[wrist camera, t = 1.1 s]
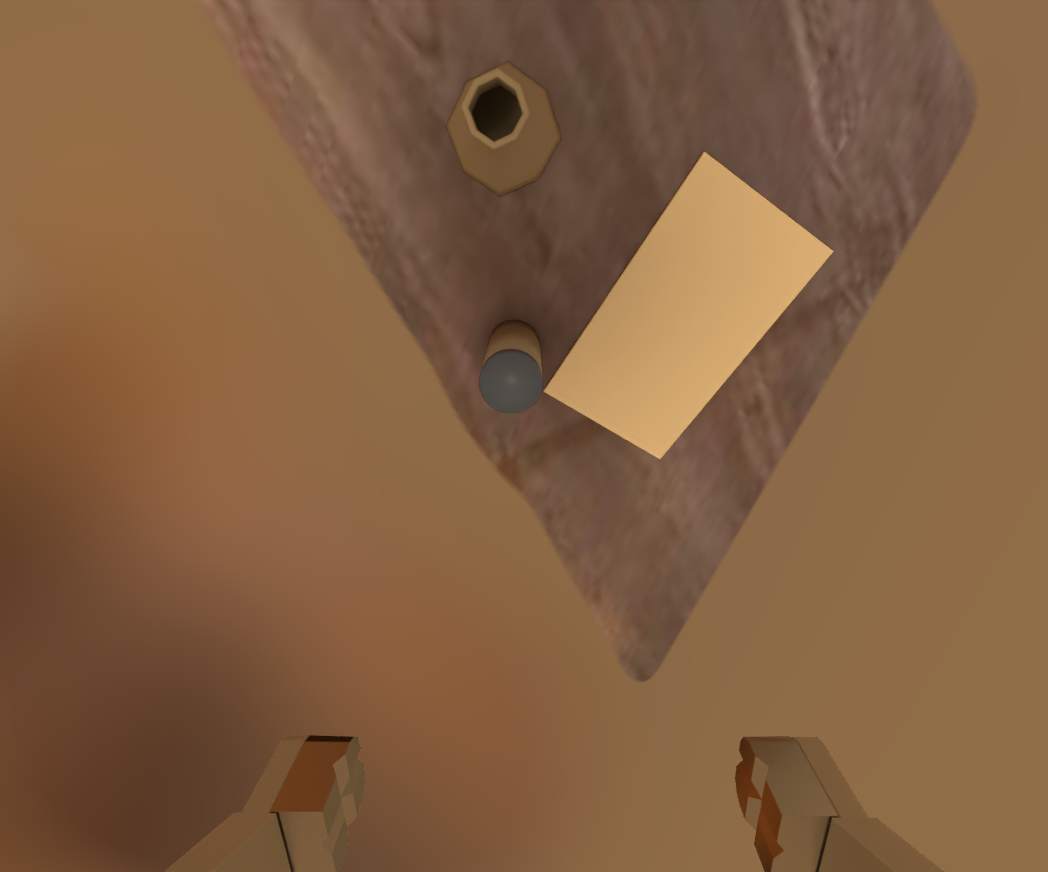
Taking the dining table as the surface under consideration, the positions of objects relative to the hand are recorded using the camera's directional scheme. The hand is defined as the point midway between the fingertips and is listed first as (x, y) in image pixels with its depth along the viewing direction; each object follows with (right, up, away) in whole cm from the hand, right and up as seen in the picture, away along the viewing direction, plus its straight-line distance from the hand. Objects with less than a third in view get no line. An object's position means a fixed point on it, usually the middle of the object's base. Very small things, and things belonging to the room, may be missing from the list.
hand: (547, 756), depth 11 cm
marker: (-1, +14, +29) cm, 32 cm away
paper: (+11, +15, +28) cm, 34 cm away
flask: (-2, +27, +23) cm, 35 cm away
